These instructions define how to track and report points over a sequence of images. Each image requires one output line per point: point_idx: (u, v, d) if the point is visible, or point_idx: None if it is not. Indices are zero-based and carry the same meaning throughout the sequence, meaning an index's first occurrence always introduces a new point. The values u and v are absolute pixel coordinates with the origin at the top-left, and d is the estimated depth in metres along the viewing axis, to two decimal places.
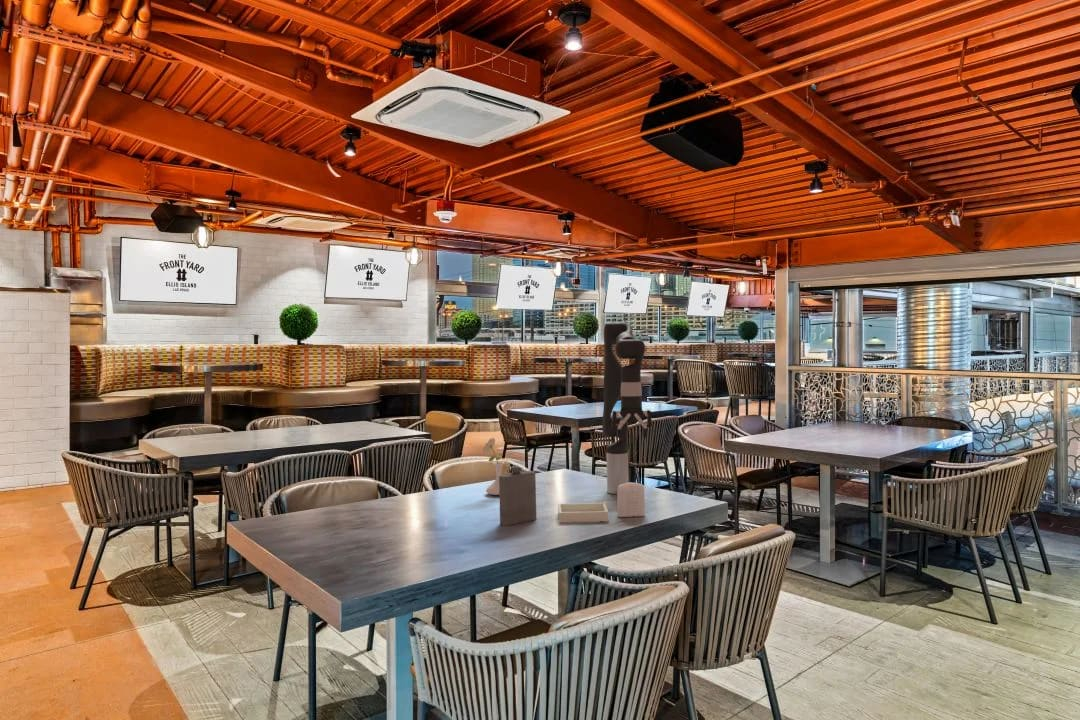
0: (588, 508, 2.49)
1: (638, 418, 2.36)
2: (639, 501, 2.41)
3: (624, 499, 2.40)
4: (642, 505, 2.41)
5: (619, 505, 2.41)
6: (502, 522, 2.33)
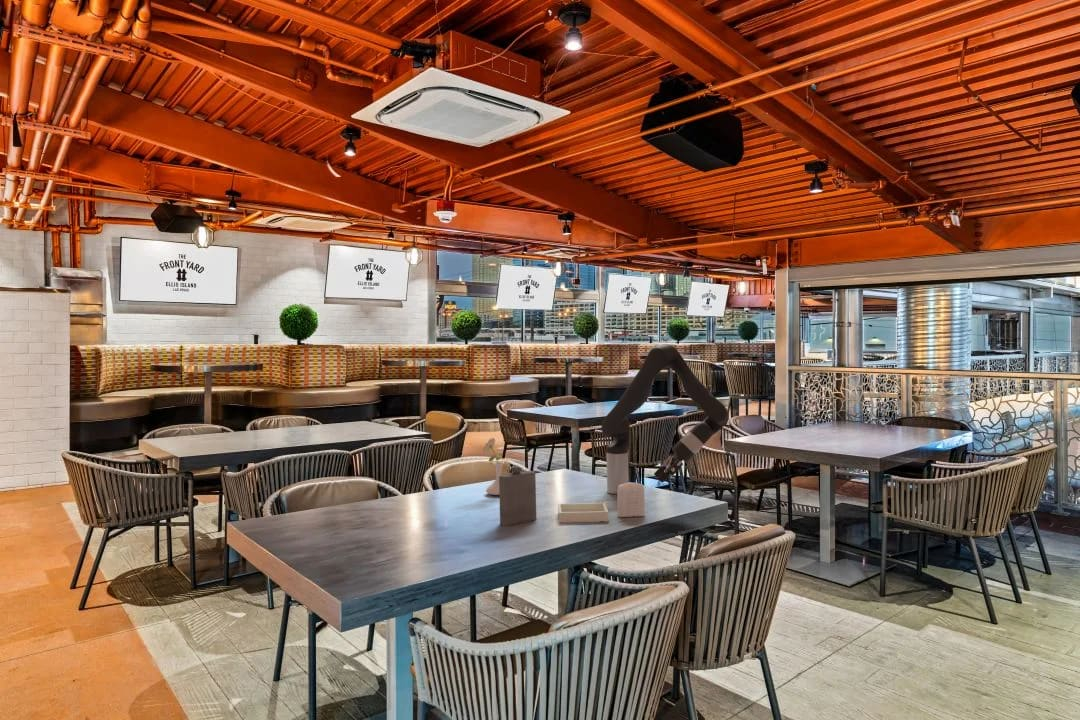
0: (588, 508, 2.49)
1: None
2: (639, 501, 2.41)
3: (624, 499, 2.40)
4: (642, 505, 2.41)
5: (619, 505, 2.41)
6: (502, 522, 2.33)
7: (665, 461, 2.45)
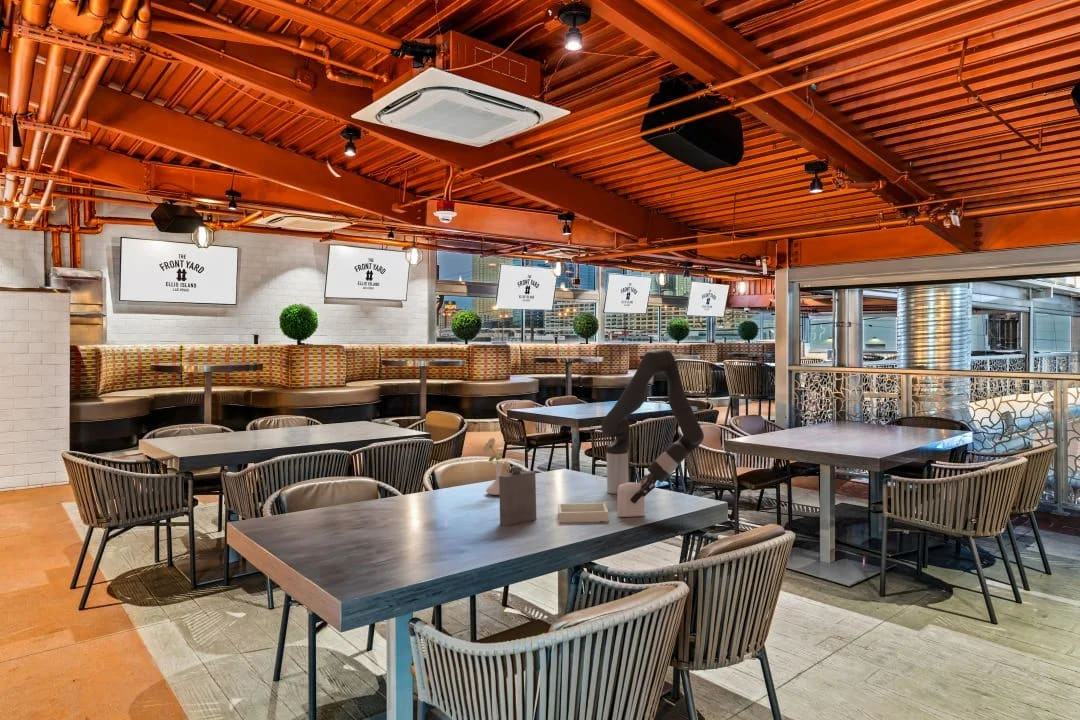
0: (588, 508, 2.49)
1: None
2: (639, 501, 2.41)
3: (624, 499, 2.40)
4: (642, 505, 2.41)
5: (619, 505, 2.41)
6: (502, 522, 2.33)
7: (640, 482, 2.44)
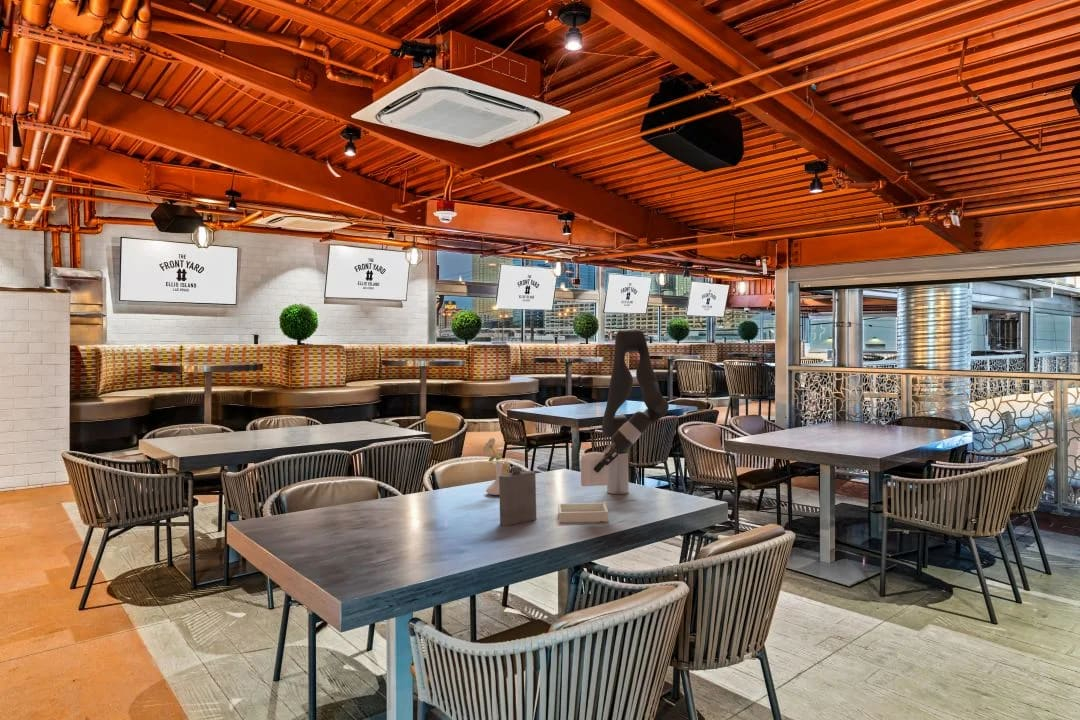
0: (588, 508, 2.49)
1: None
2: (603, 470, 2.41)
3: (588, 468, 2.40)
4: (605, 474, 2.41)
5: (582, 474, 2.40)
6: (502, 522, 2.33)
7: (604, 451, 2.44)
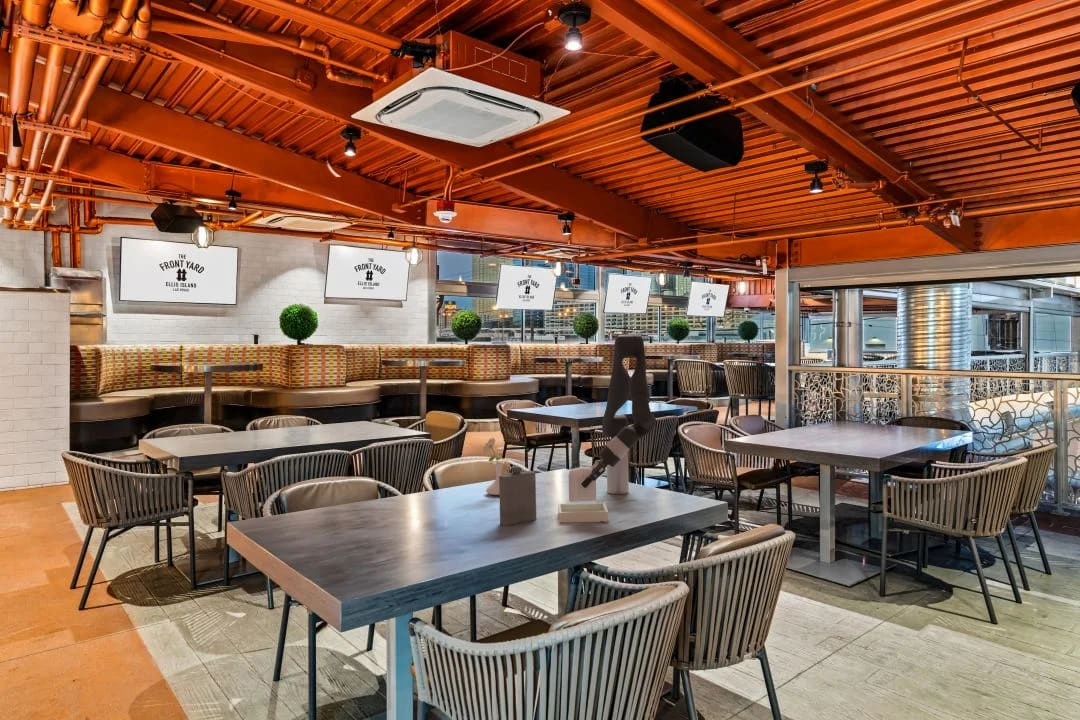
0: (588, 508, 2.49)
1: None
2: (590, 486, 2.41)
3: (575, 483, 2.40)
4: (593, 490, 2.41)
5: (570, 490, 2.41)
6: (502, 522, 2.33)
7: (592, 466, 2.44)
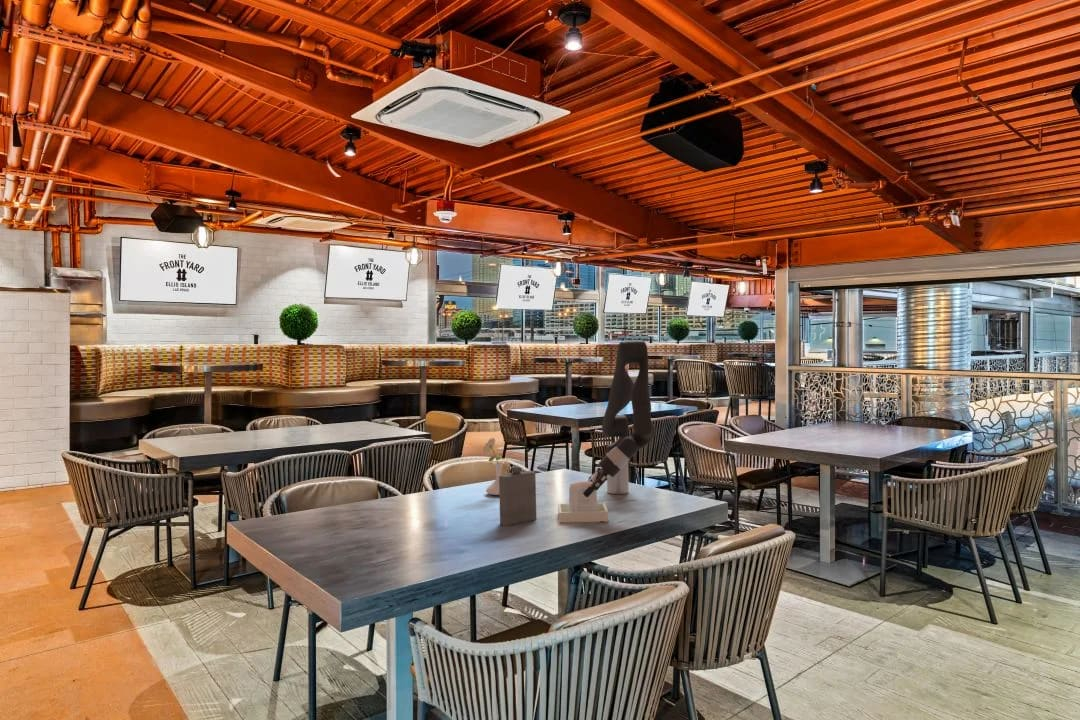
0: None
1: None
2: (591, 499, 2.41)
3: (575, 497, 2.41)
4: (594, 503, 2.41)
5: (570, 503, 2.41)
6: (502, 522, 2.33)
7: (592, 475, 2.45)
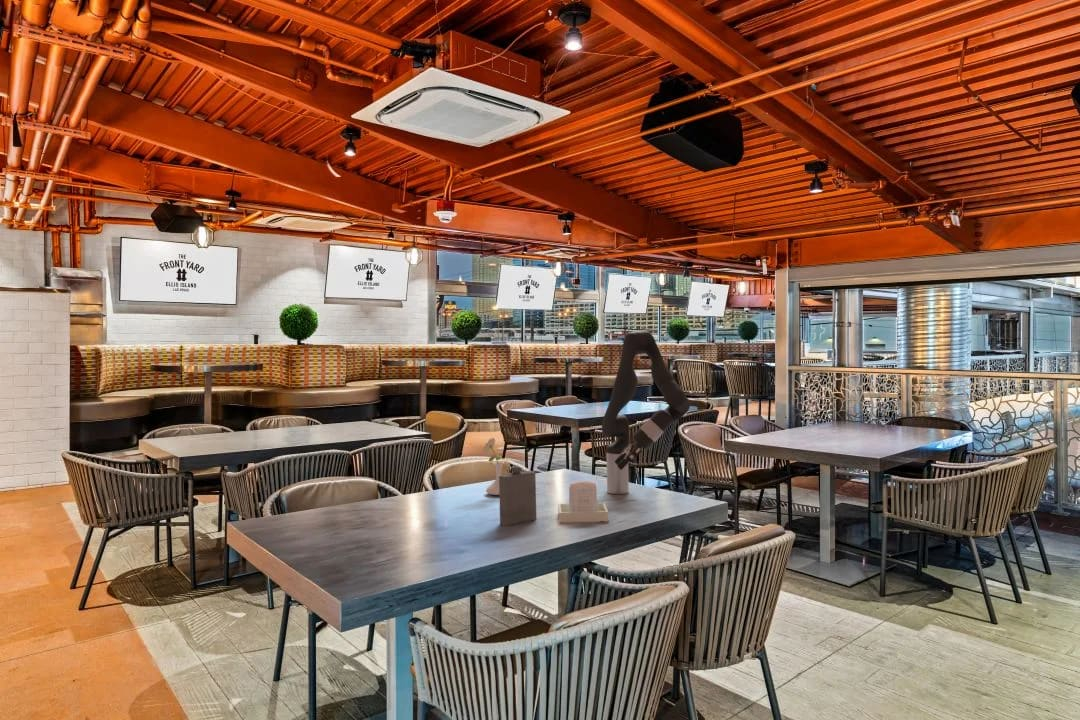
0: None
1: None
2: (591, 499, 2.41)
3: (575, 497, 2.41)
4: (594, 503, 2.41)
5: (570, 503, 2.41)
6: (502, 522, 2.33)
7: (625, 448, 2.45)
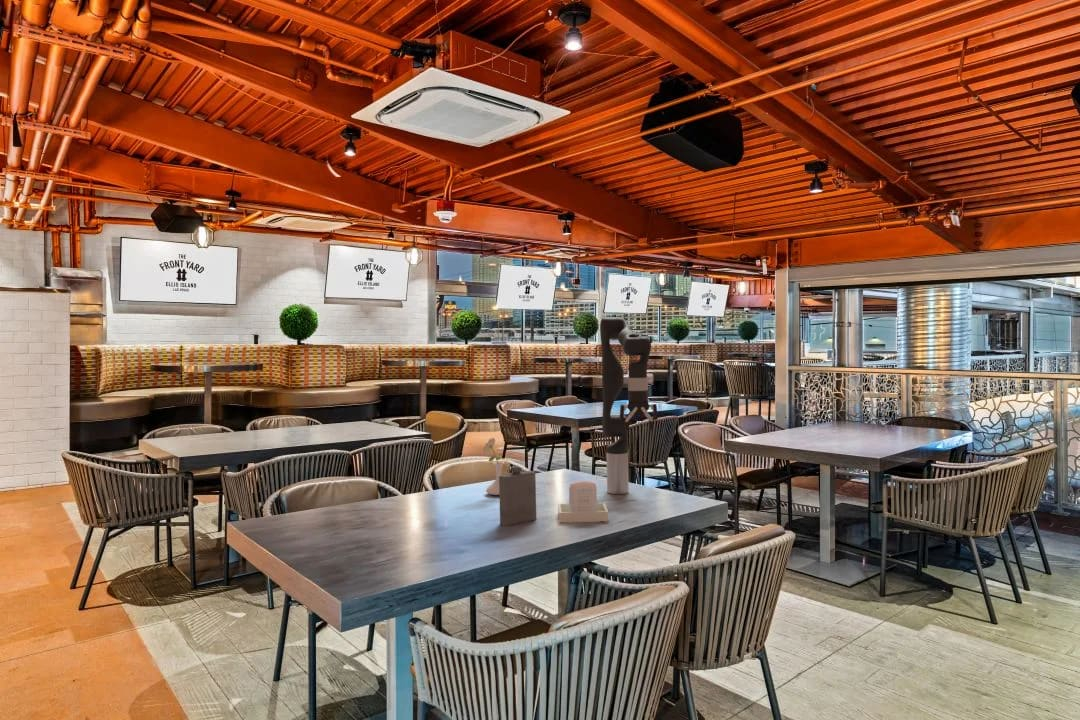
0: None
1: (644, 411, 2.51)
2: (591, 499, 2.41)
3: (575, 497, 2.41)
4: (594, 503, 2.41)
5: (570, 503, 2.41)
6: (502, 522, 2.33)
7: None
